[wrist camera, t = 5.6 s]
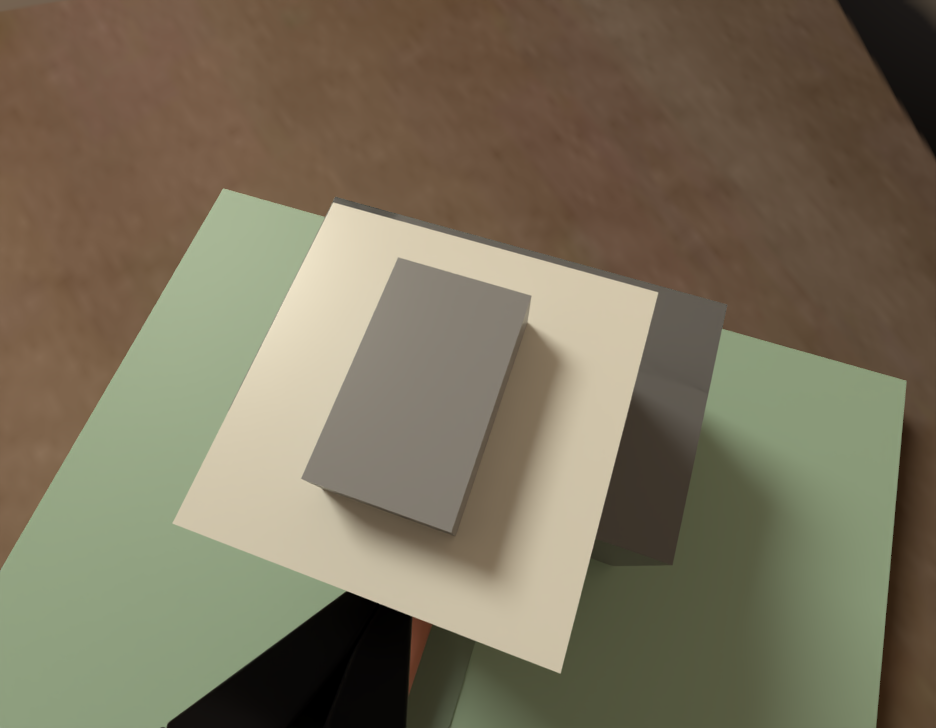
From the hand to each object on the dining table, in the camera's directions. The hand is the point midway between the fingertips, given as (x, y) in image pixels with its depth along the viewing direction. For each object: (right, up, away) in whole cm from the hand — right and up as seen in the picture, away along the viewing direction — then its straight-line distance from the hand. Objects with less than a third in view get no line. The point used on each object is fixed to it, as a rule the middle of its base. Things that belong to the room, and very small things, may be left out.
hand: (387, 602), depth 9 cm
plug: (0, -1, +5) cm, 5 cm away
